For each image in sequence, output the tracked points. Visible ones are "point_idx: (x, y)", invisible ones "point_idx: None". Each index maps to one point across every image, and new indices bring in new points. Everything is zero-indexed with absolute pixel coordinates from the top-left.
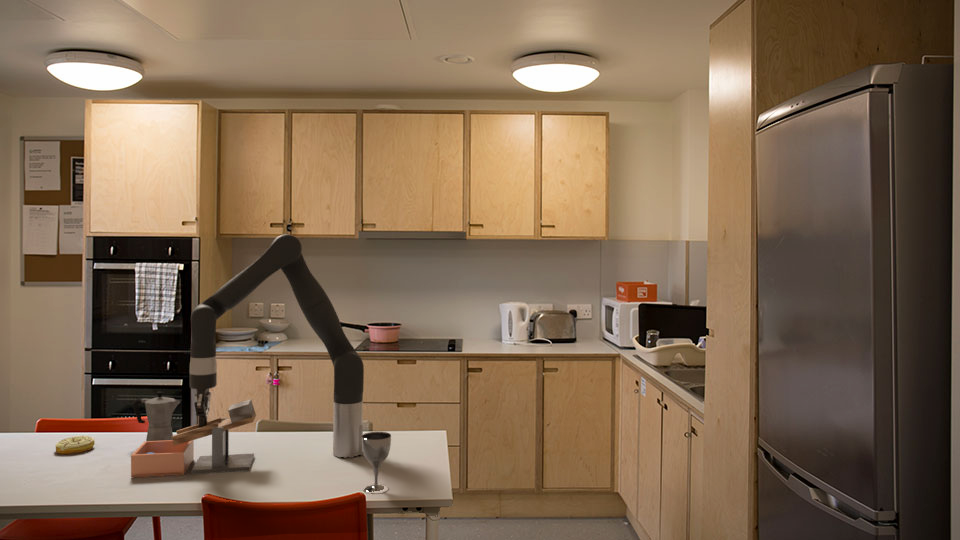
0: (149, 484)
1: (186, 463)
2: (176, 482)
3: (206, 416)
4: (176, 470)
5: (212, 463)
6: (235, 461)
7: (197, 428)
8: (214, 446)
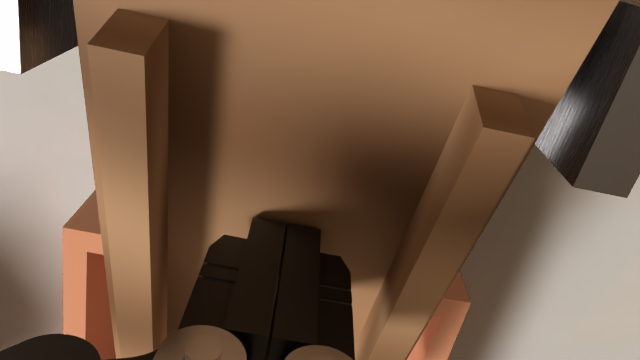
0: (508, 355)
1: None
2: (554, 246)
3: (343, 354)
4: None
5: None
6: None
7: (387, 337)
8: None
